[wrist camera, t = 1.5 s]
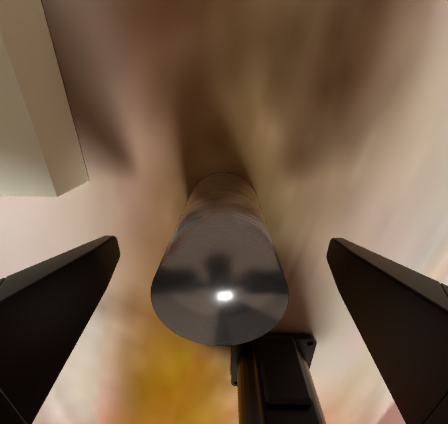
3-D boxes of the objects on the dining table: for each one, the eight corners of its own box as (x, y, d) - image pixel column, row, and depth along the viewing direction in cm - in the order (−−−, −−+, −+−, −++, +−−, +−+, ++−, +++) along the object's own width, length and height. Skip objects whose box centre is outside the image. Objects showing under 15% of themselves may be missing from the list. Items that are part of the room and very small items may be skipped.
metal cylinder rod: (255, 236, 13) (280, 346, 7) (191, 235, 14) (159, 344, 7) (260, 172, 12) (298, 244, 5) (186, 172, 12) (140, 242, 6)
